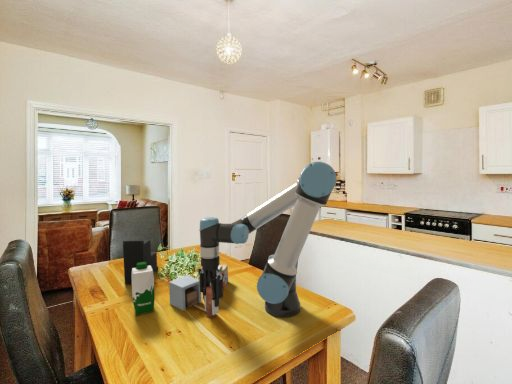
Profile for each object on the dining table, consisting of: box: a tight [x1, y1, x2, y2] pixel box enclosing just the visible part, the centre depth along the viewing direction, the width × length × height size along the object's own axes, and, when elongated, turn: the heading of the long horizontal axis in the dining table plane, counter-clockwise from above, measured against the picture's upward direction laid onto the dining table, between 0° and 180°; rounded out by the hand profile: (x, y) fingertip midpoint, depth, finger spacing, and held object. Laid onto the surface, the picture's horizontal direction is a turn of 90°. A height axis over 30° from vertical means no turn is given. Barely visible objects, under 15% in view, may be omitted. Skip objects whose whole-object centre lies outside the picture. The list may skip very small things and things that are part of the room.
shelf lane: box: [168, 275, 203, 312], centre depth 124 cm, size 10×10×10 cm
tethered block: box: [185, 285, 218, 319], centre depth 118 cm, size 20×5×12 cm, turn 49°
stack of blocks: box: [202, 264, 229, 299], centre depth 139 cm, size 21×6×12 cm, turn 169°
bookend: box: [122, 239, 159, 285], centre depth 158 cm, size 23×11×24 cm, turn 2°
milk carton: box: [131, 262, 156, 316], centre depth 118 cm, size 9×9×20 cm
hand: (211, 311), depth 113 cm, fingers closed on tethered block, 4 cm apart
